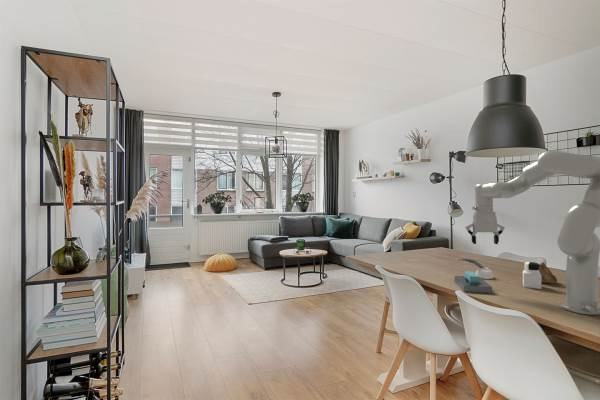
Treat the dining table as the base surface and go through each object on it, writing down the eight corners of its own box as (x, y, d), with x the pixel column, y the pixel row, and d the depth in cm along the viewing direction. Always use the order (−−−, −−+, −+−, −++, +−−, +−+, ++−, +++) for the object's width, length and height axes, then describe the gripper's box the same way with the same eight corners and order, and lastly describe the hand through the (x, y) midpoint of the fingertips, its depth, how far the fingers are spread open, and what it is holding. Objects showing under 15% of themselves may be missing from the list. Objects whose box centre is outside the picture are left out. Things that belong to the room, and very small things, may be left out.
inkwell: (495, 279, 179) (495, 261, 179) (458, 277, 185) (458, 259, 185) (491, 275, 188) (491, 258, 188) (456, 273, 193) (456, 256, 193)
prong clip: (472, 284, 169) (472, 271, 169) (479, 290, 159) (479, 276, 158) (464, 283, 170) (464, 271, 170) (469, 289, 159) (469, 276, 159)
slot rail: (479, 282, 172) (479, 276, 172) (492, 293, 153) (492, 287, 153) (454, 281, 175) (454, 275, 175) (463, 291, 156) (463, 285, 156)
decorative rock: (534, 283, 171) (534, 262, 171) (527, 280, 177) (527, 260, 177) (559, 284, 170) (559, 263, 170) (551, 281, 176) (551, 260, 176)
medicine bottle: (539, 286, 166) (539, 262, 166) (541, 289, 160) (541, 264, 160) (522, 284, 170) (522, 260, 170) (523, 287, 164) (523, 263, 164)
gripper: (467, 209, 162) (468, 244, 161) (506, 208, 158) (507, 244, 158) (463, 209, 169) (464, 242, 169) (500, 208, 165) (501, 243, 165)
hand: (485, 243), depth 163 cm, fingers open, 9 cm apart
